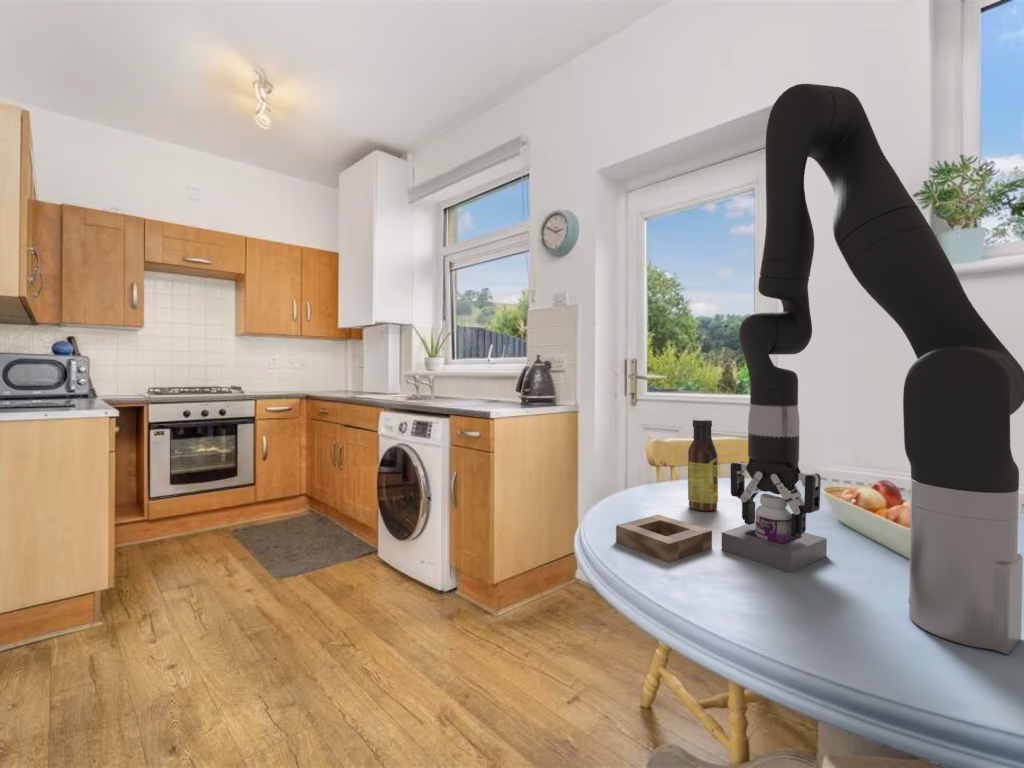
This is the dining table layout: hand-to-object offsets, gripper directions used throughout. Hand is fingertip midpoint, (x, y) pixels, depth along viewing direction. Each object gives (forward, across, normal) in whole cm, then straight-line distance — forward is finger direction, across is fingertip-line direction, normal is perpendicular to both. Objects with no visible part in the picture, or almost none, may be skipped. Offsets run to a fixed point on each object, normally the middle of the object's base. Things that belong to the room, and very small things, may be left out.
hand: (772, 529), depth 81 cm
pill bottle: (+4, 0, 0) cm, 4 cm away
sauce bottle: (+4, +23, -14) cm, 27 cm away
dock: (+4, +13, +12) cm, 18 cm away
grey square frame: (+4, 0, 0) cm, 4 cm away
